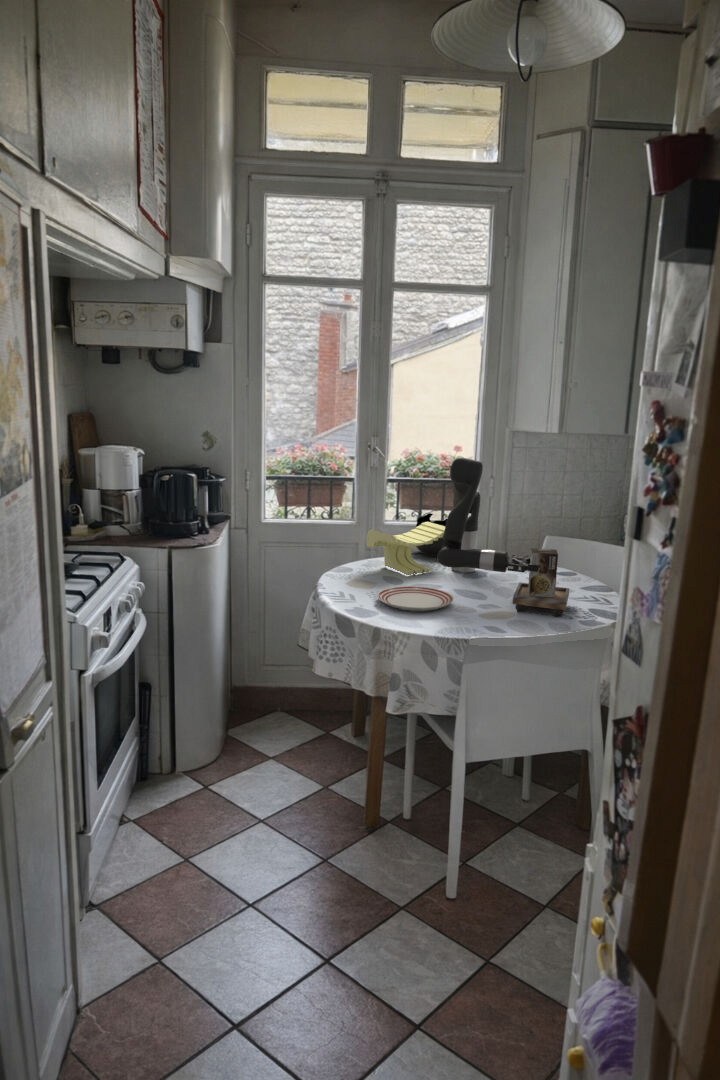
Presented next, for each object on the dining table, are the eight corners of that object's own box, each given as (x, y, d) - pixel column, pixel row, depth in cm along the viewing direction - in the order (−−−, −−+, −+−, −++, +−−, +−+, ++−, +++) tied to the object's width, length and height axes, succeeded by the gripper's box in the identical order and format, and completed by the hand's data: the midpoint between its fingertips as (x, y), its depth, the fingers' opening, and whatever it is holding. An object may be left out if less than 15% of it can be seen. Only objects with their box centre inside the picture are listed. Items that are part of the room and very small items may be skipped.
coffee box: (553, 592, 287) (557, 549, 283) (554, 598, 281) (559, 553, 277) (527, 590, 288) (531, 547, 284) (528, 596, 282) (532, 551, 278)
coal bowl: (401, 553, 355) (403, 511, 350) (434, 547, 367) (436, 507, 362) (431, 563, 339) (434, 520, 335) (465, 557, 351) (468, 515, 347)
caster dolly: (511, 612, 279) (513, 596, 278) (518, 597, 296) (519, 582, 295) (564, 619, 274) (566, 602, 273) (567, 604, 291) (569, 588, 290)
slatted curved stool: (420, 560, 344) (422, 520, 339) (446, 569, 331) (448, 527, 327) (365, 570, 326) (367, 527, 322) (390, 579, 313) (392, 535, 309)
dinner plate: (364, 596, 292) (364, 587, 292) (430, 589, 303) (431, 581, 302) (396, 620, 268) (397, 610, 267) (467, 612, 279) (468, 603, 278)
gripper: (491, 555, 279) (538, 560, 275) (497, 546, 292) (542, 550, 288) (490, 575, 281) (536, 581, 276) (495, 565, 294) (540, 570, 290)
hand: (539, 565), depth 282 cm, fingers open, 8 cm apart
